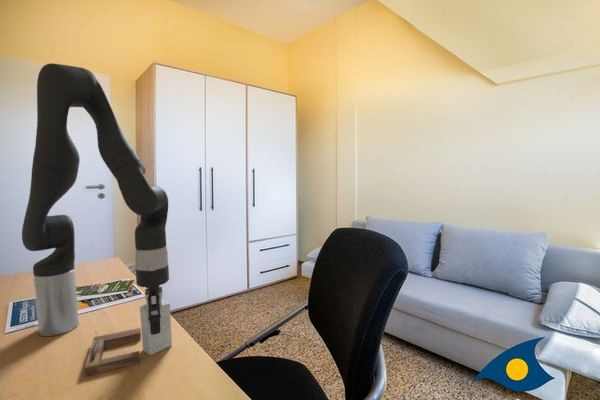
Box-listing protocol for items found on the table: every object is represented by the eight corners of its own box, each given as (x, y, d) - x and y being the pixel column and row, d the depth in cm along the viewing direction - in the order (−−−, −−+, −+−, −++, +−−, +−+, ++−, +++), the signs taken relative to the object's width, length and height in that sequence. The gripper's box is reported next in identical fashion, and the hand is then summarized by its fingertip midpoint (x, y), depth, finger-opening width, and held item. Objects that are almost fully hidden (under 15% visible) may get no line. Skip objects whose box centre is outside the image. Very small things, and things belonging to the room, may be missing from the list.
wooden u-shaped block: (94, 344, 82) (93, 334, 82) (140, 334, 87) (140, 325, 87) (84, 376, 70) (84, 364, 69) (139, 362, 74) (138, 352, 74)
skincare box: (164, 339, 84) (162, 298, 83) (172, 345, 82) (170, 302, 80) (141, 350, 80) (139, 305, 78) (149, 356, 77) (147, 311, 76)
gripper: (136, 259, 83) (140, 316, 84) (133, 275, 70) (138, 343, 71) (167, 255, 86) (170, 311, 87) (169, 270, 73) (172, 335, 75)
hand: (155, 325), depth 79 cm, fingers open, 8 cm apart
